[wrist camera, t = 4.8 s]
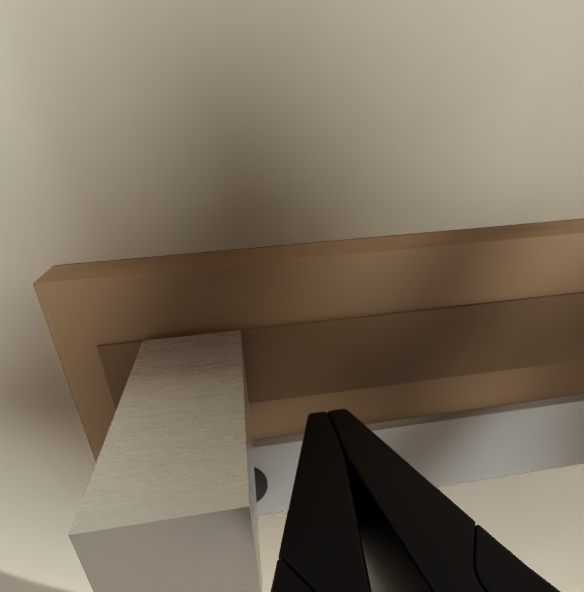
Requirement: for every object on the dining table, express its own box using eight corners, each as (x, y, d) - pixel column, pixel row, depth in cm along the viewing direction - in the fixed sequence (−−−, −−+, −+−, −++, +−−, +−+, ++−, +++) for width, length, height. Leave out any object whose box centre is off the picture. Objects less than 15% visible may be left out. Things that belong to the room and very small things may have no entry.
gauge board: (726, 206, 12) (950, 248, 9) (635, 426, 16) (760, 524, 12) (53, 265, 10) (-53, 357, 6) (130, 502, 14) (92, 650, 10)
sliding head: (240, 330, 10) (248, 506, 6) (259, 494, 13) (276, 706, 8) (142, 340, 10) (68, 535, 5) (182, 506, 12) (155, 732, 8)
